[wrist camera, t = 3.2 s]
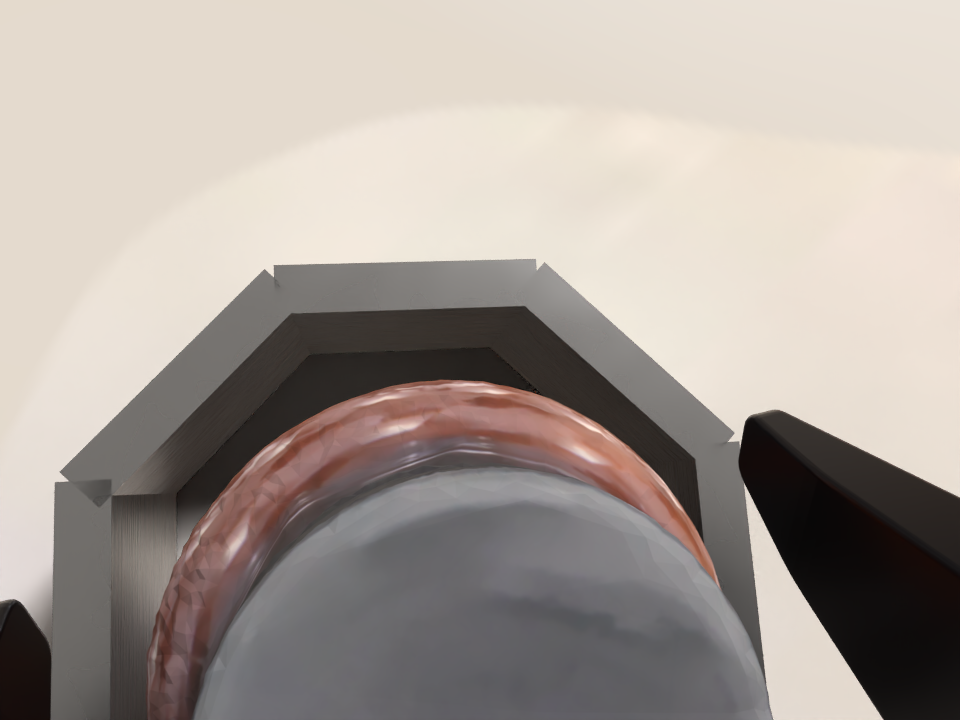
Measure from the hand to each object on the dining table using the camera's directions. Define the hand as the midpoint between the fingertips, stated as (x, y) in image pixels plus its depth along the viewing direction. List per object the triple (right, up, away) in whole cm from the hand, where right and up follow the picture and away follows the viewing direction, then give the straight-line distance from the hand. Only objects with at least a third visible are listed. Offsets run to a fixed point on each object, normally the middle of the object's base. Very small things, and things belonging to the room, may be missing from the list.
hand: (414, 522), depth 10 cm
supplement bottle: (-1, -2, +7) cm, 7 cm away
